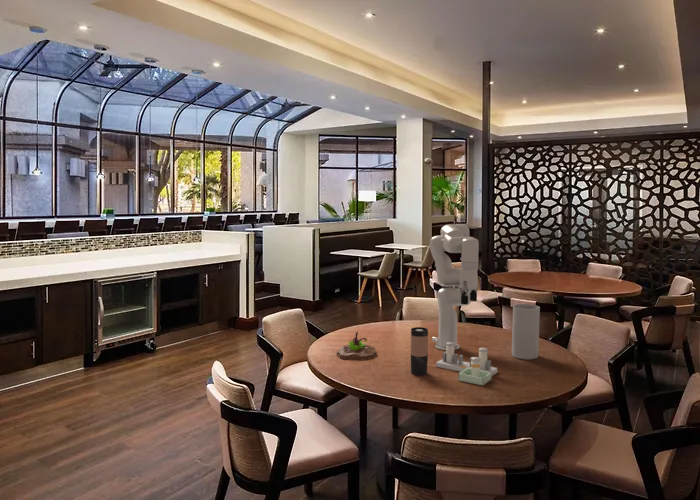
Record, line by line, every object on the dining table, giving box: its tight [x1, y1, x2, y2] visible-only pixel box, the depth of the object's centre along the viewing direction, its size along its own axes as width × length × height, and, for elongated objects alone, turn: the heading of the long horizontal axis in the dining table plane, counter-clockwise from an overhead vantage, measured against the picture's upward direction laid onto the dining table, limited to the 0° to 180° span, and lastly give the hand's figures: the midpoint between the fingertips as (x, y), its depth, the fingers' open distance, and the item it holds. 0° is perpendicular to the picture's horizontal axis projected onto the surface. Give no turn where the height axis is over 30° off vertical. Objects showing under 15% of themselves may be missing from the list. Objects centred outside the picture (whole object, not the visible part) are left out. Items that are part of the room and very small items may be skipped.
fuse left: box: [445, 342, 455, 363], centre depth 246 cm, size 4×4×9 cm
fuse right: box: [478, 347, 489, 370], centre depth 237 cm, size 4×4×9 cm
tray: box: [457, 368, 493, 387], centre depth 228 cm, size 11×9×3 cm
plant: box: [336, 331, 377, 360], centre depth 267 cm, size 20×20×11 cm
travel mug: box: [410, 326, 429, 376], centre depth 236 cm, size 8×8×20 cm
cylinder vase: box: [511, 303, 541, 361], centre depth 261 cm, size 12×12×25 cm
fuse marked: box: [470, 356, 480, 377], centre depth 228 cm, size 4×4×9 cm
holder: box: [435, 351, 498, 377], centre depth 242 cm, size 26×9×6 cm, turn 54°
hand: (468, 302), depth 243 cm, fingers open, 9 cm apart
